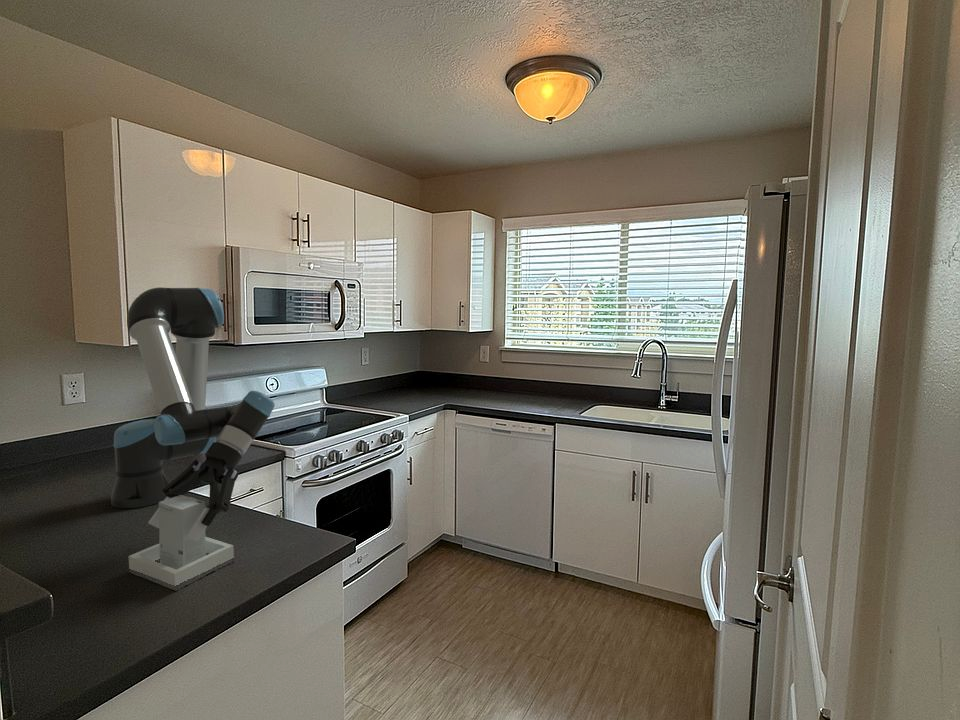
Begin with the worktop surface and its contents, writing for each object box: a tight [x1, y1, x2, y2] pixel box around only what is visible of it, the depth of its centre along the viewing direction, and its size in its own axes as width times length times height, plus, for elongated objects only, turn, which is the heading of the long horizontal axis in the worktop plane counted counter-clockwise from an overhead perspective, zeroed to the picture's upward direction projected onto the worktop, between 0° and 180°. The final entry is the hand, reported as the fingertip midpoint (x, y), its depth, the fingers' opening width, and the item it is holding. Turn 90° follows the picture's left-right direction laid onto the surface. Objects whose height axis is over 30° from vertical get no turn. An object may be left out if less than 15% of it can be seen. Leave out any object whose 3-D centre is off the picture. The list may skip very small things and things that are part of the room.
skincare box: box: [158, 494, 206, 570], centre depth 117 cm, size 8×6×15 cm
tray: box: [128, 536, 235, 586], centre depth 118 cm, size 16×14×4 cm
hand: (172, 532), depth 115 cm, fingers open, 13 cm apart
